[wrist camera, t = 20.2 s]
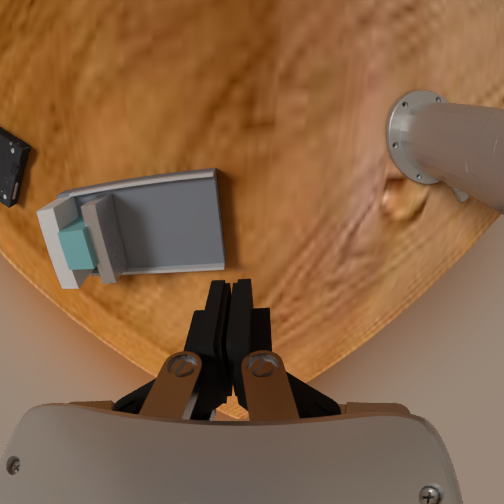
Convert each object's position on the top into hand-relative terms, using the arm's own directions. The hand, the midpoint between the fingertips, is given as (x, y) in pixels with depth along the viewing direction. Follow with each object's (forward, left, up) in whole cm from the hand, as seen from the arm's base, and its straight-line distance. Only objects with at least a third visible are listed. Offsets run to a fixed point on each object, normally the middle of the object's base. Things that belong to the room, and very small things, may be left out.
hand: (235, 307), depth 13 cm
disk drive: (+35, +21, -25) cm, 48 cm away
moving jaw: (+9, +15, -22) cm, 28 cm away
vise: (+7, +13, -24) cm, 28 cm away
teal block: (+11, +17, -22) cm, 30 cm away
